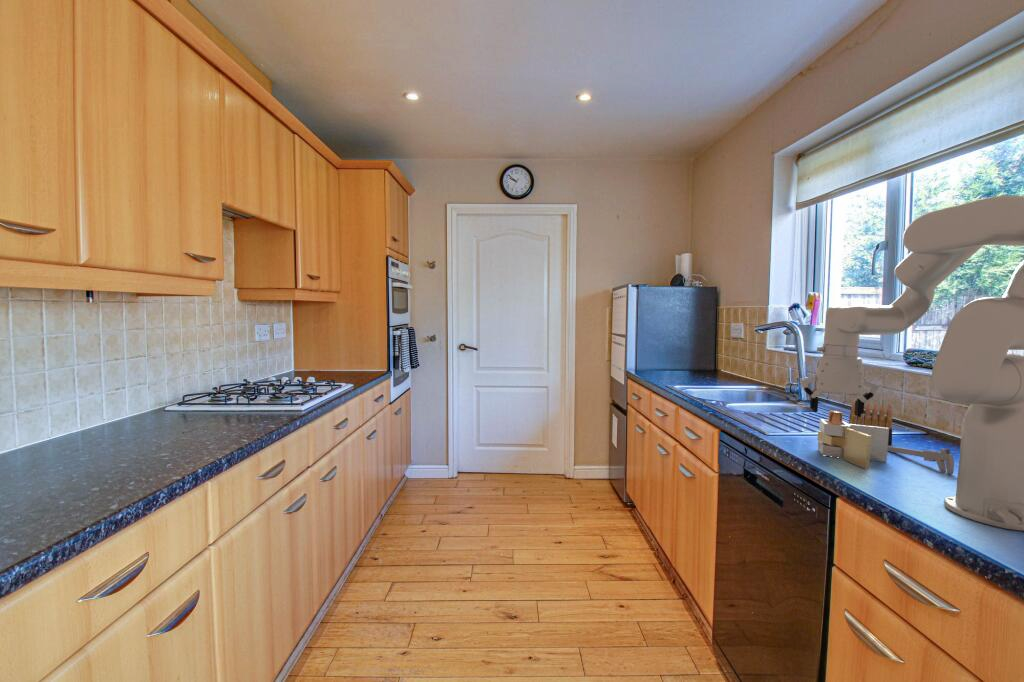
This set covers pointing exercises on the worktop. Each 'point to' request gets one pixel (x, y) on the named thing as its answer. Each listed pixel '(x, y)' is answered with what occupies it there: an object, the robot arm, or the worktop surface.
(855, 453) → the hinge leaf
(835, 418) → the pin
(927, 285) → the robot arm
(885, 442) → the hinge fixed
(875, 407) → the ammunition clip
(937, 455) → the caliper
